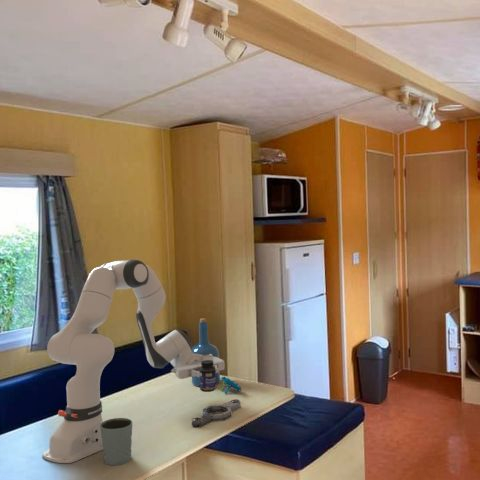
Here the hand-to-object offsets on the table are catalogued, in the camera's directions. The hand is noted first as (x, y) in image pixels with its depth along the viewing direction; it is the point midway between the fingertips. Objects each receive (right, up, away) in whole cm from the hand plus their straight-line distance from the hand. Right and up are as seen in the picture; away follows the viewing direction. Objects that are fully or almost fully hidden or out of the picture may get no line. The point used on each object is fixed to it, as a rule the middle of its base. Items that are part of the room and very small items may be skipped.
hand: (208, 372), depth 216 cm
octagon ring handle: (+3, -17, +1) cm, 17 cm away
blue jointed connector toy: (+8, -16, +29) cm, 34 cm away
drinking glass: (-27, -20, -33) cm, 48 cm away
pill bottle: (0, -7, +1) cm, 7 cm away
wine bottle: (-4, -15, +44) cm, 47 cm away
